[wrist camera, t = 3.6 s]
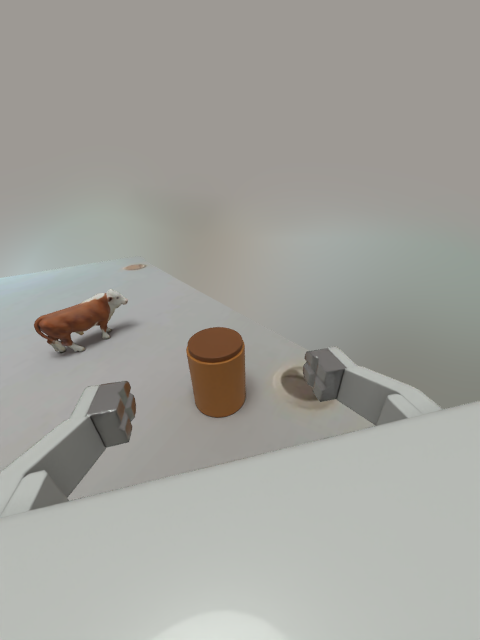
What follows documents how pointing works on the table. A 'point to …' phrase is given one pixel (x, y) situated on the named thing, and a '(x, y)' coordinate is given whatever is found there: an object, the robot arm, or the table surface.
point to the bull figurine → (79, 320)
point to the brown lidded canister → (217, 370)
